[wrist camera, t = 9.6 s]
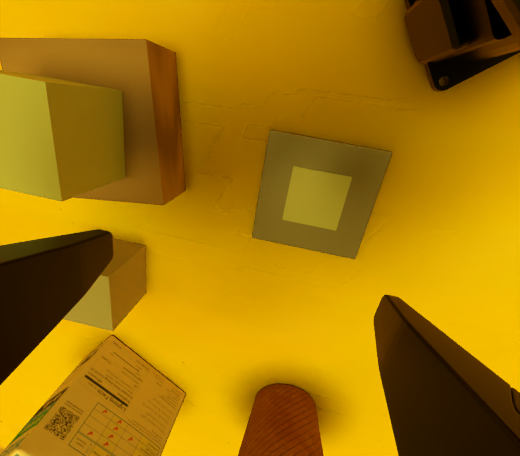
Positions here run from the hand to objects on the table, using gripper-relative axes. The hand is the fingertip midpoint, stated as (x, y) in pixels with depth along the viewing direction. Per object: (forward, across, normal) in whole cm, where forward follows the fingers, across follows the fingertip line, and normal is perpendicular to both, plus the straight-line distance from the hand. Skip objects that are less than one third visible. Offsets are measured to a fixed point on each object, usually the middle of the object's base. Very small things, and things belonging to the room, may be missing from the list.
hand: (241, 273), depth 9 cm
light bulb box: (+12, +11, +24) cm, 29 cm away
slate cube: (+12, +12, +10) cm, 20 cm away
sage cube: (+8, +12, -2) cm, 15 cm away
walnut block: (+12, +12, -2) cm, 17 cm away
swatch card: (+12, -3, 0) cm, 12 cm away
